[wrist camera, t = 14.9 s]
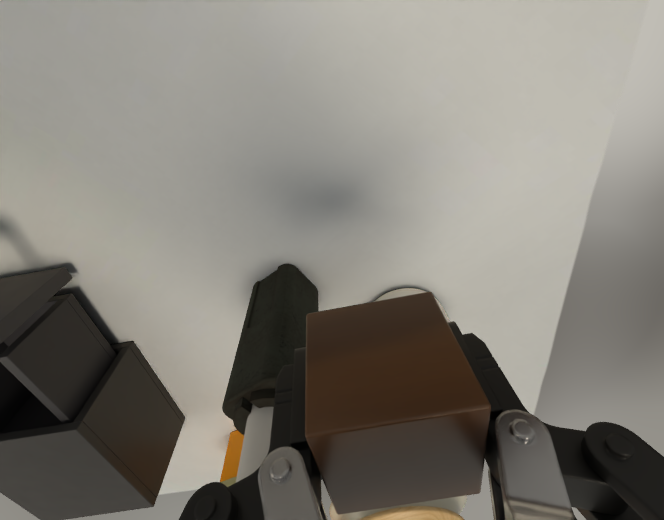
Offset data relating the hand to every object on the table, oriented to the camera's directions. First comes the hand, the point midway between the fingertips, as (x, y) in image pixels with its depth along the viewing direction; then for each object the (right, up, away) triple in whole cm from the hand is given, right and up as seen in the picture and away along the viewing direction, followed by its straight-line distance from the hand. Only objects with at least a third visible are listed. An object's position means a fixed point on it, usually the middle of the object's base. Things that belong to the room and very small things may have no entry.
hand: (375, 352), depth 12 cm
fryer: (-27, -12, +25) cm, 39 cm away
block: (0, 0, 0) cm, 0 cm away
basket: (-29, -1, +18) cm, 34 cm away
